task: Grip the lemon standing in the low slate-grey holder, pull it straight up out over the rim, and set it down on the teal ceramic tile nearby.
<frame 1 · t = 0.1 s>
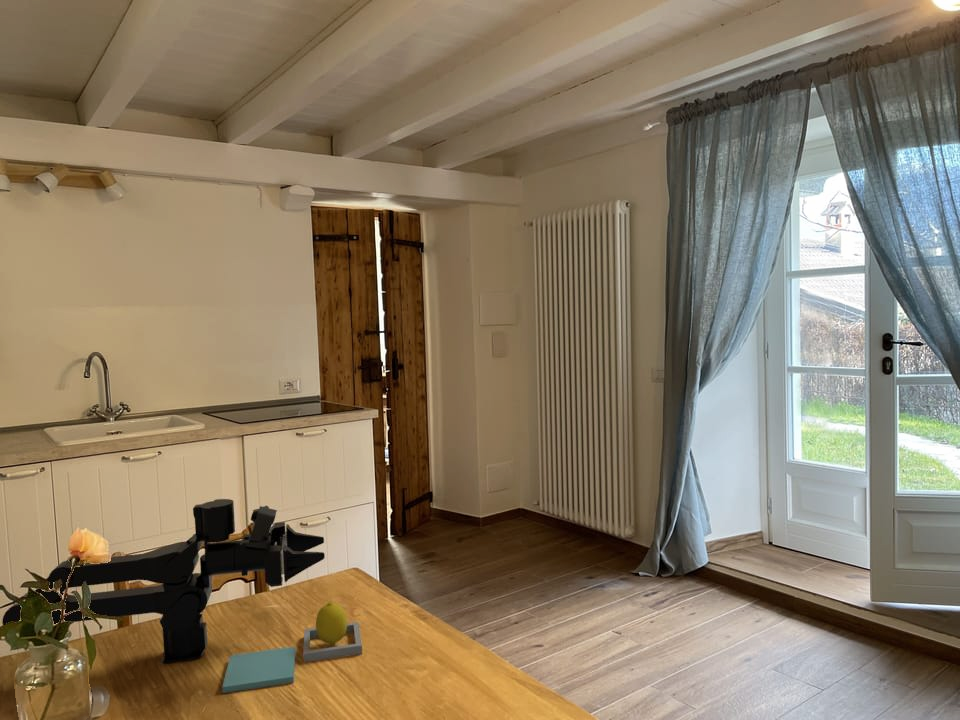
hand: (324, 547, 129), 17 cm above the table, tool horizontal, fingers open, 9 cm apart
holder: (332, 645, 126), on the table
lemon: (332, 646, 126), resting in holder
tile: (261, 671, 117), on the table
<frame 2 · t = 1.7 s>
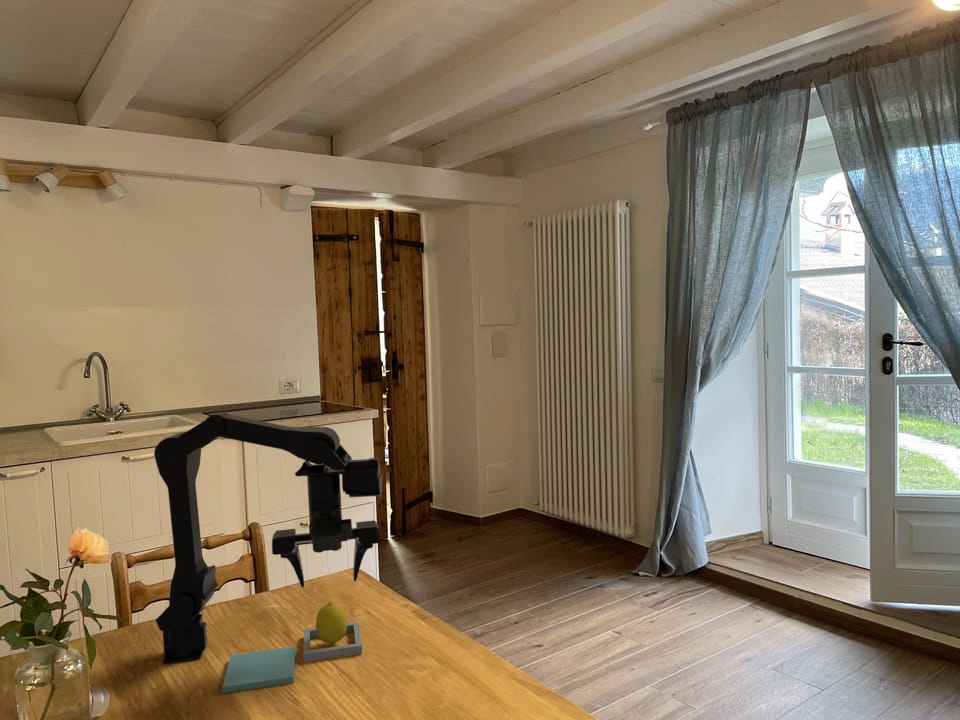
hand: (329, 583, 125), 11 cm above the table, tool pointing down, fingers open, 9 cm apart
nothing on the table moved.
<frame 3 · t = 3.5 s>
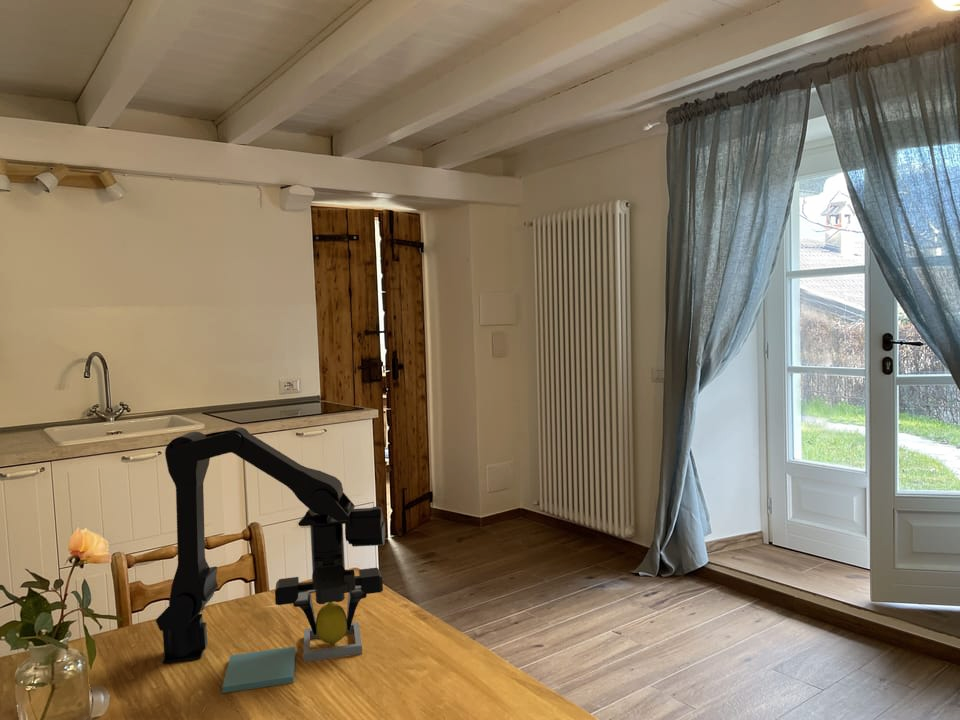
hand: (331, 631, 125), 3 cm above the table, tool pointing down, fingers closed on lemon, 5 cm apart
lemon: (332, 646, 126), resting in holder, touching gripper
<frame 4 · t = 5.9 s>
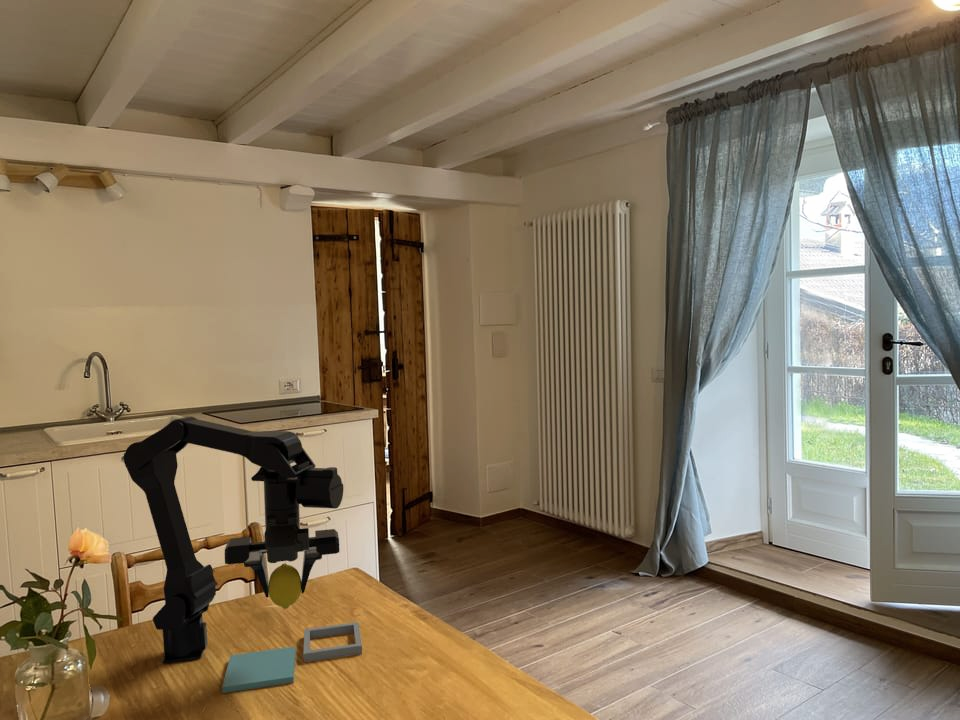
hand: (285, 594, 120), 12 cm above the table, tool pointing down, fingers closed on lemon, 5 cm apart
lemon: (285, 609, 120), point 9 cm above the table, touching gripper
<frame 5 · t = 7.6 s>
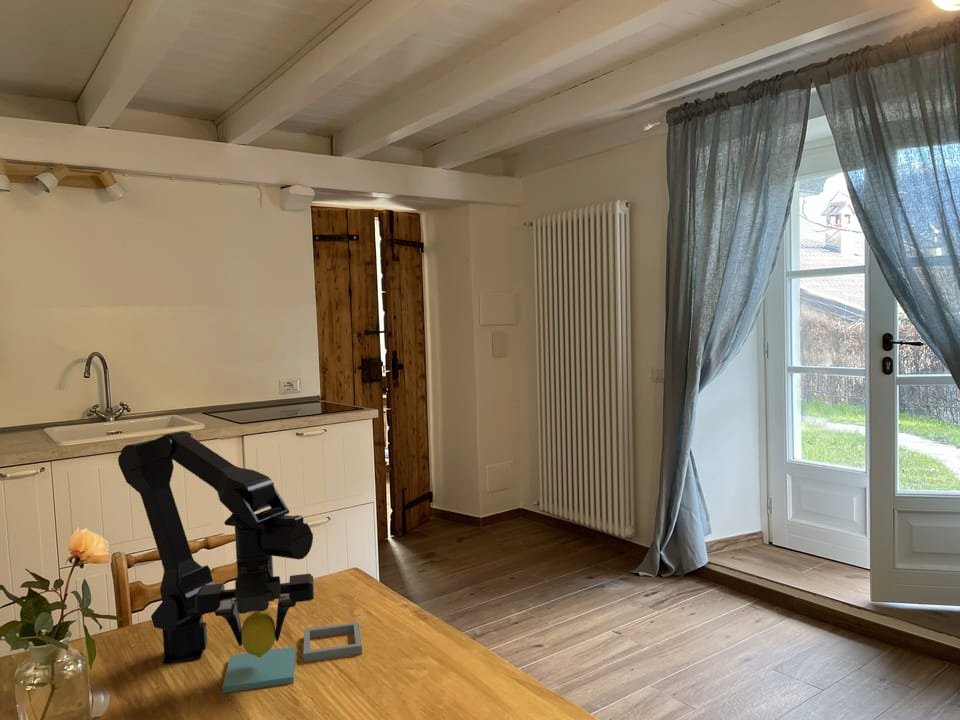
hand: (259, 642, 117), 5 cm above the table, tool pointing down, fingers closed on lemon, 5 cm apart
lemon: (259, 658, 117), point 2 cm above the table, touching gripper
when the fingers open (5 cm above the table, at t = 8.4 s): lemon drops 1 cm, resting on tile.
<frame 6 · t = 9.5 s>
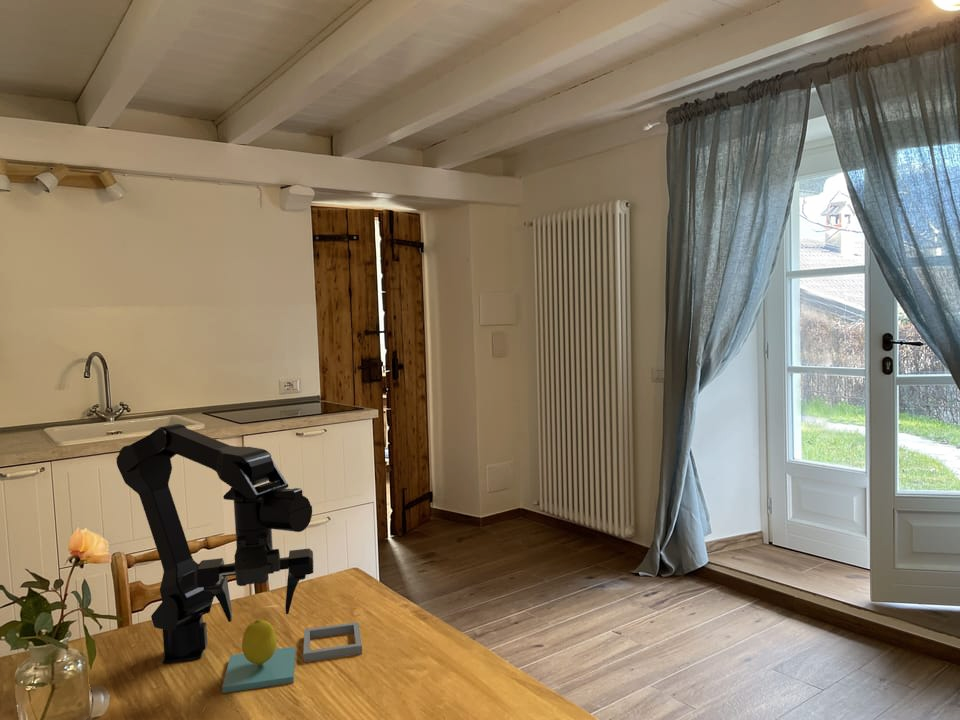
hand: (258, 617, 116), 9 cm above the table, tool pointing down, fingers open, 9 cm apart
lemon: (260, 666, 117), point 1 cm above the table, touching tile
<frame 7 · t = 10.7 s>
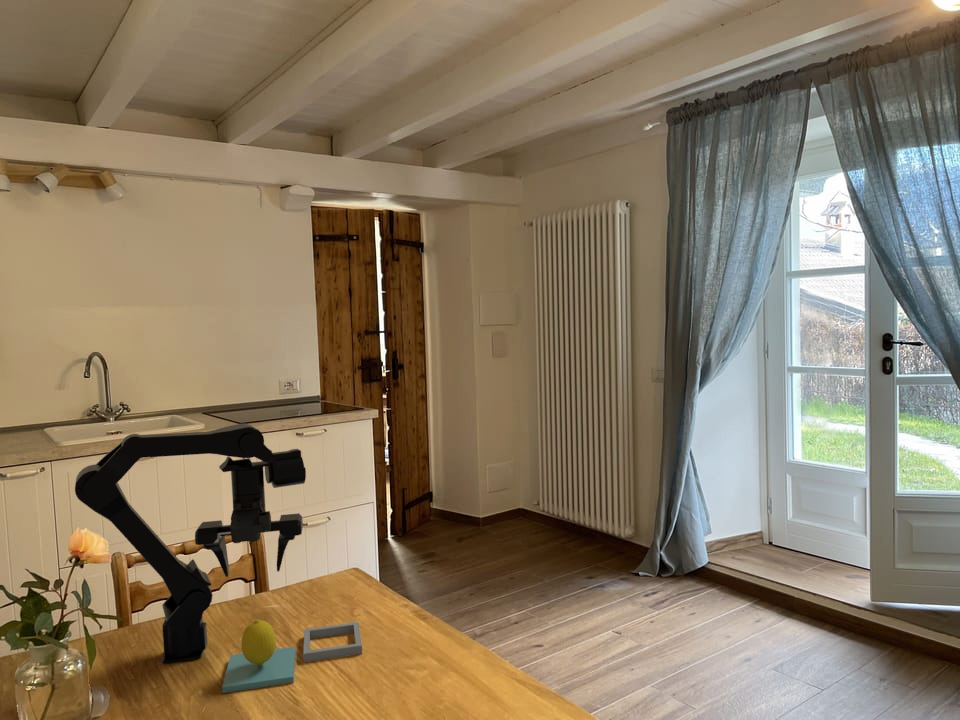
hand: (253, 573, 130), 12 cm above the table, tool pointing down, fingers open, 9 cm apart
nothing on the table moved.
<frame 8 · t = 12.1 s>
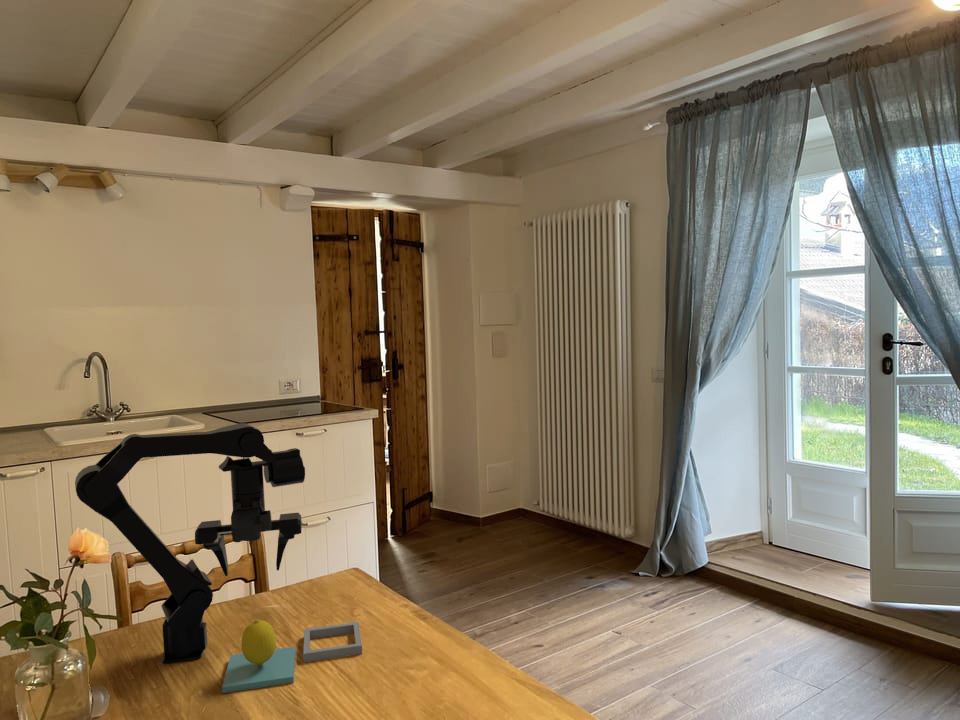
hand: (252, 572, 130), 12 cm above the table, tool pointing down, fingers open, 9 cm apart
nothing on the table moved.
at the end: lemon inside the target area on the tile (0.1 cm from its centre), point 0.8 cm above the tile's base; the gripper is holding nothing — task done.
